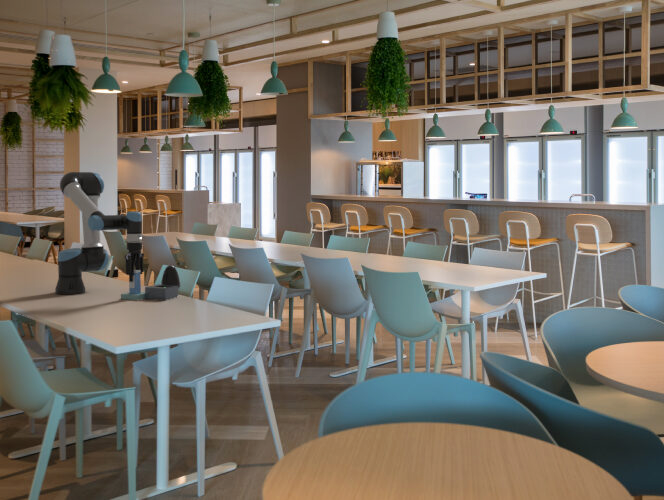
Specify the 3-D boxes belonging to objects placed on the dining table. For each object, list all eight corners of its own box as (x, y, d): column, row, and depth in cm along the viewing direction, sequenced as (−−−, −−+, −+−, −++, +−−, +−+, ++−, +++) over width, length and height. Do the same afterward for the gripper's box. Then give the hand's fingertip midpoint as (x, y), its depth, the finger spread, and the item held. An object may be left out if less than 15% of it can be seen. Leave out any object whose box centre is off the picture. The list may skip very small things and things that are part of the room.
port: (145, 298, 353) (144, 286, 353) (158, 295, 365) (158, 283, 364) (165, 300, 349) (165, 287, 349) (178, 296, 361) (178, 284, 360)
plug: (129, 298, 354) (128, 270, 353) (134, 297, 358) (133, 269, 357) (136, 298, 352) (135, 270, 351) (140, 297, 356) (140, 270, 355)
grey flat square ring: (120, 298, 352) (120, 294, 352) (132, 296, 361) (132, 291, 361) (137, 300, 349) (137, 295, 349) (149, 297, 358) (148, 292, 358)
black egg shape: (183, 292, 377) (182, 264, 376) (176, 295, 367) (176, 266, 365) (164, 291, 378) (164, 264, 377) (158, 294, 368) (157, 266, 366)
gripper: (130, 243, 343) (131, 289, 345) (150, 241, 359) (150, 285, 361) (117, 242, 346) (118, 289, 348) (137, 240, 362) (138, 284, 364)
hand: (134, 287), depth 355 cm, fingers closed on plug, 4 cm apart
